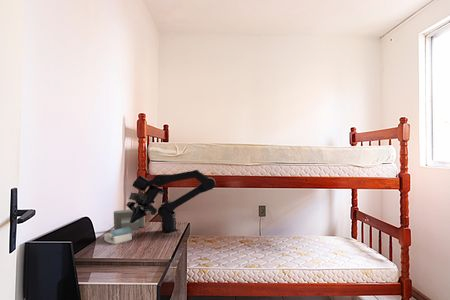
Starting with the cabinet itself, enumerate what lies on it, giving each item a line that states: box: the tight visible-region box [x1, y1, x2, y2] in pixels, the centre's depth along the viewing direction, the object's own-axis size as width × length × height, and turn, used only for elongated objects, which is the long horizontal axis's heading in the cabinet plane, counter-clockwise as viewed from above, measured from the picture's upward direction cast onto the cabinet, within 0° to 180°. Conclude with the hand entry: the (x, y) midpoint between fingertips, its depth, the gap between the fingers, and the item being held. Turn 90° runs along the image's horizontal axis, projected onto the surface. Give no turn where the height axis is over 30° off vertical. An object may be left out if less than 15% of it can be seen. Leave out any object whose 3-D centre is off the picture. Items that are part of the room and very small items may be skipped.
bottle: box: [108, 227, 132, 241], centre depth 141 cm, size 5×5×10 cm
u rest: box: [103, 232, 133, 245], centre depth 140 cm, size 8×10×3 cm
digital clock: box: [113, 208, 146, 231], centre depth 164 cm, size 16×9×11 cm, turn 97°
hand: (130, 222), depth 145 cm, fingers closed
